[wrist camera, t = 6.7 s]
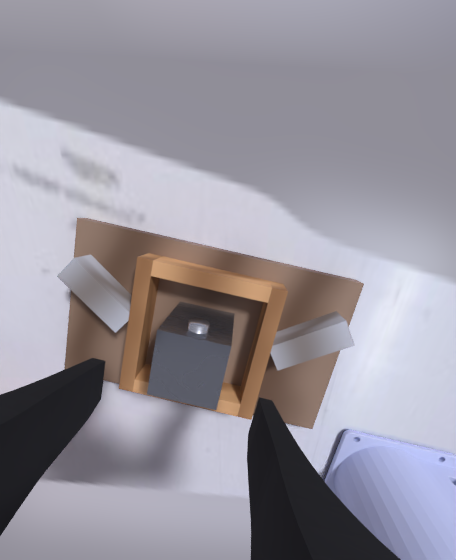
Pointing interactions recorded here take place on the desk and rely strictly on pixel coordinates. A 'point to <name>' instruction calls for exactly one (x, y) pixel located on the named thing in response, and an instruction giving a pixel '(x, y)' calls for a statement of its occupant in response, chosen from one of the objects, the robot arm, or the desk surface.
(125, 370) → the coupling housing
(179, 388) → the block
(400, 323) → the desk surface
